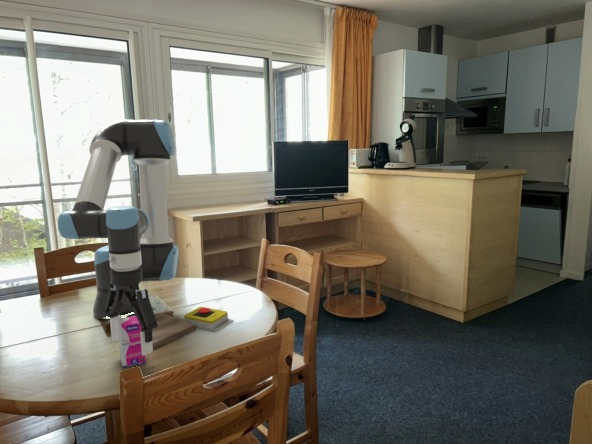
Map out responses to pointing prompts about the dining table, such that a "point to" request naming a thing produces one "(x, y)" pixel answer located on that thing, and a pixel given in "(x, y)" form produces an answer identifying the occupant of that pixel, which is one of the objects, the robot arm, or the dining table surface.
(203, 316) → the emergency button
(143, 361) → the supplement box
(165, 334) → the walnut board
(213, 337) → the dining table surface
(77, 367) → the dining table surface
